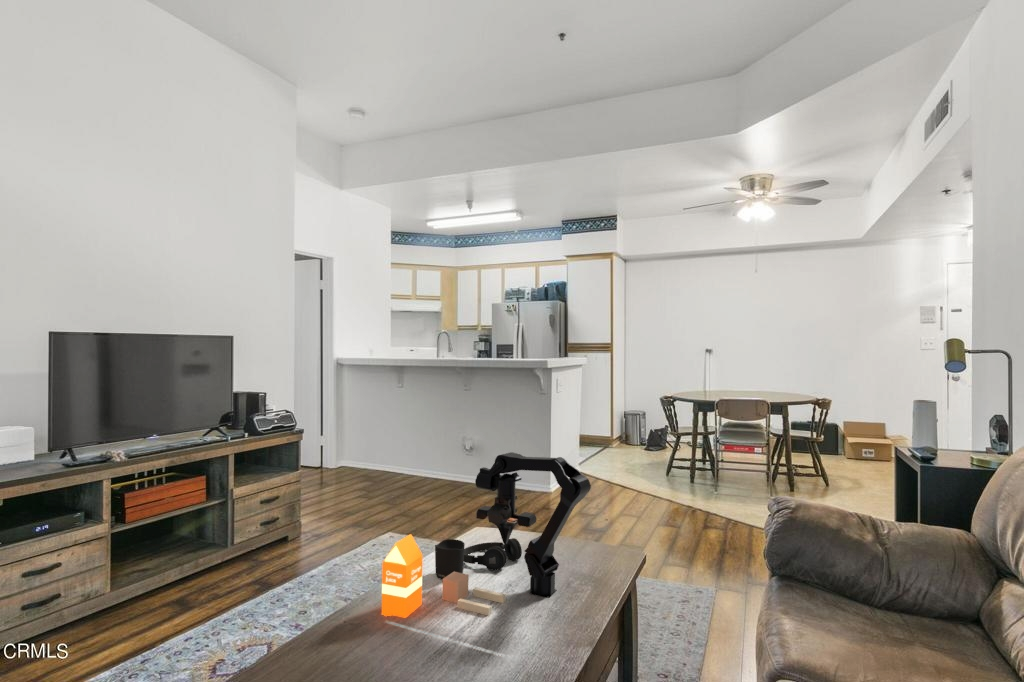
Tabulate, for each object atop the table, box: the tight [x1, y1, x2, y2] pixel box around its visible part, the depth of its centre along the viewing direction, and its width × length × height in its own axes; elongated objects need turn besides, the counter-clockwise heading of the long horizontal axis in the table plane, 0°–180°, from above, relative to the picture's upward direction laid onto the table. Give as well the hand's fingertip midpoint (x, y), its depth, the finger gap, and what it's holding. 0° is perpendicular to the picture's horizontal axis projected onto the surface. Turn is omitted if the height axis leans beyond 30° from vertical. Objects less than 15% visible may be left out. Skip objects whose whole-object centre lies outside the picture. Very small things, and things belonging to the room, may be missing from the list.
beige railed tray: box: [456, 587, 507, 617], centre depth 162 cm, size 18×12×2 cm, turn 63°
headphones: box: [464, 537, 523, 572], centre depth 195 cm, size 17×7×20 cm
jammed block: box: [442, 572, 469, 604], centre depth 164 cm, size 5×6×6 cm
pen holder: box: [434, 538, 465, 580], centre depth 181 cm, size 9×9×10 cm
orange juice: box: [381, 533, 424, 619], centre depth 156 cm, size 8×9×20 cm
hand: (505, 543), depth 177 cm, fingers closed
